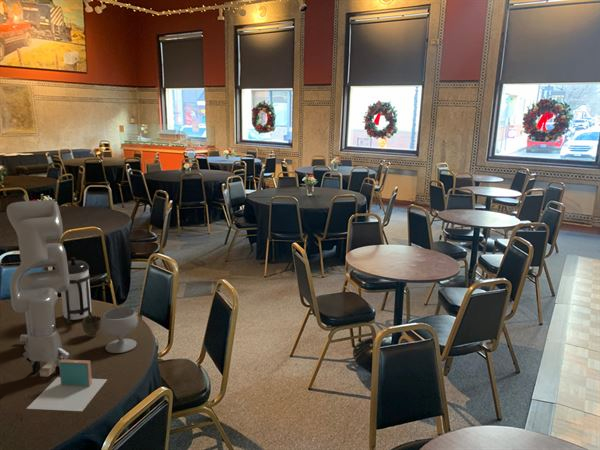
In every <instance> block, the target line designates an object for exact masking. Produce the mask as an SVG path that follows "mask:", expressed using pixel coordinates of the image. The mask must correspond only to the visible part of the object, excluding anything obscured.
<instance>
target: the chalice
mask: <svg viewBox="0 0 600 450" xmlns="http://www.w3.org/2000/svg"><path fill="white" fill-rule="evenodd" d="M138 324H139V317H138V315H137V313H136V311H135V309H133V308H131V307H116V308H112V309H110V310H107V311H106V312H104V314H103V315H102V318H101V323H100V328H101V329H102V331H103V332H104V333H105V334H107V335H110V336H115V337H117V339H114V340H112V341H111V342H109V343H108V344H106V346H105V350H106V352H109V353H111V354H123V353H127V352H129V351H132V350H134V349H135V348H136V347H137V344H138V343H137V341H136V340H135V339H131V338H125V336H126V335H127V334H128V335H129V334H130V333H132V332H133V331H134V330H135V329H136V328H137V326H138Z"/></svg>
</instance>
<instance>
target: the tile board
mask: <svg viewBox="0 0 600 450" xmlns="http://www.w3.org/2000/svg"><path fill="white" fill-rule="evenodd" d="M107 381H108V378H107V379H106V378H105V379H104V378H92V385H91V386H90V387H84V386H63V385H61V378H60V376H57V377H56V378H55V379H54V380H53V381H52V382H51V383H50V384H49V385H48V386H47V387H46V388H45V389H44V390H43V391H42V392H41V393H40V394H39V395H38V396H37V397H36V398H35V400H33V401H32V402H31V403H30V404H29V405H28V406H27V407H26V408H25V409H27V410H47V411H67V412H70V411H71V412H83V411H84V410H85V408H86V407H88V405H89V404H90V402H91V401H92V399H93V398H94V397H95V396H96V394H97V393H98V392H99V391H100V390H101V388H102V387H103V386H104V385H105V383H106V382H107Z"/></svg>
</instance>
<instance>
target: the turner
mask: <svg viewBox="0 0 600 450" xmlns="http://www.w3.org/2000/svg"><path fill="white" fill-rule="evenodd" d="M61 357H62V359H63V355H61ZM57 360H58V359H57ZM58 361H59V360H58ZM59 362H60V361H59ZM56 366H57V365H56V364H55V362H46V364H44V365H43V366H42V367H40V370H39V377H46V378H47V377H49V376H51V375H52V374H53V372H54V371H56V369H55V367H56Z"/></svg>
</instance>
